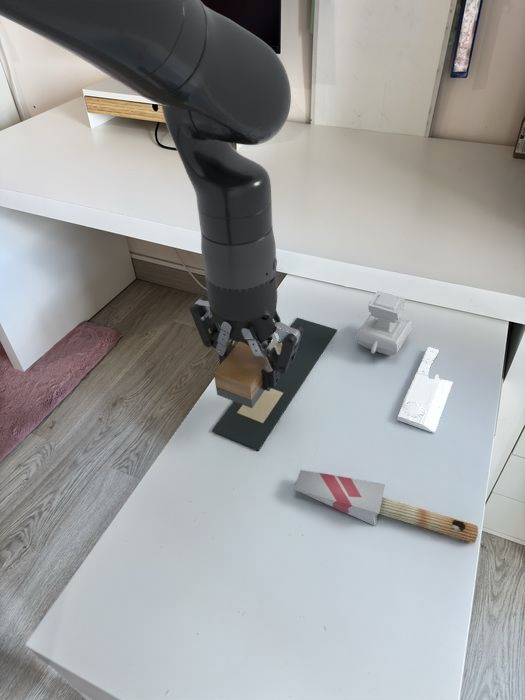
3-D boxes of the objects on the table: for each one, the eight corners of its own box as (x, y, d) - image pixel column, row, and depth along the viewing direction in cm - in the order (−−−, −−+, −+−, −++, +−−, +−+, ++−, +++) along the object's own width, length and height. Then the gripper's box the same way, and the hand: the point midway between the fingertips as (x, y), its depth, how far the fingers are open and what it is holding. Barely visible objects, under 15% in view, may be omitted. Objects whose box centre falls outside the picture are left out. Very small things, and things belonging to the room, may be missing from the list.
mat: (258, 451, 64) (258, 449, 64) (212, 432, 67) (211, 429, 66) (336, 331, 80) (336, 328, 80) (297, 319, 83) (297, 316, 83)
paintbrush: (302, 458, 59) (480, 513, 54) (301, 471, 61) (473, 525, 56) (292, 485, 57) (478, 545, 52) (291, 498, 59) (471, 557, 53)
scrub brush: (252, 408, 61) (250, 386, 58) (216, 395, 62) (213, 372, 60) (282, 366, 66) (281, 343, 63) (248, 354, 68) (246, 332, 65)
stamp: (392, 370, 74) (400, 326, 68) (350, 355, 76) (354, 311, 71) (412, 334, 79) (421, 290, 73) (372, 321, 82) (378, 278, 76)
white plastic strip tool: (461, 360, 74) (463, 355, 73) (433, 434, 65) (435, 429, 64) (426, 350, 76) (428, 344, 75) (395, 419, 67) (396, 414, 66)
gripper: (162, 268, 53) (186, 380, 64) (285, 303, 47) (287, 419, 59) (202, 234, 57) (218, 344, 69) (318, 263, 52) (314, 377, 64)
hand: (250, 378), depth 64 cm, fingers closed on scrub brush, 5 cm apart
